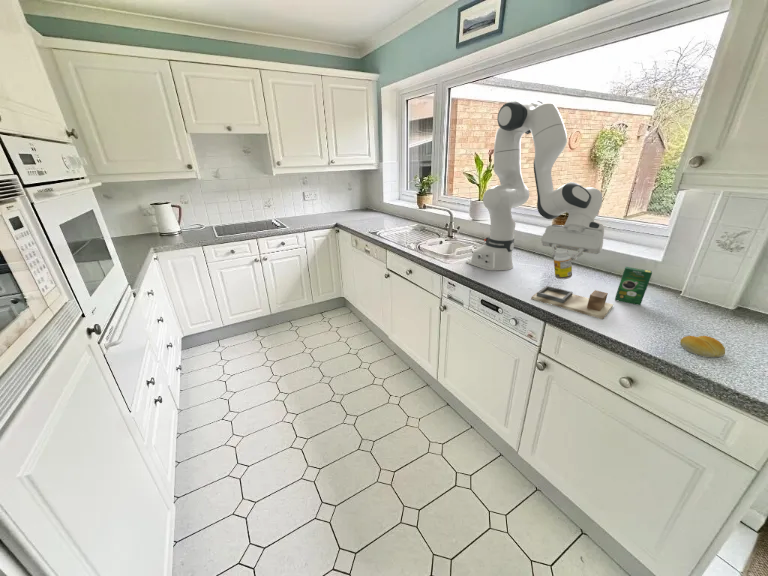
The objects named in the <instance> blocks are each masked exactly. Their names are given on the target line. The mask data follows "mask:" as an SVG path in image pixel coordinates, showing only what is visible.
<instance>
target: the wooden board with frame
mask: <svg viewBox="0 0 768 576" xmlns="http://www.w3.org/2000/svg"><path fill="white" fill-rule="evenodd" d="M608 295H609V294H608V292H604V291H601V290H597V289H594V291H593V292H592V293H590V295H589V297H586V296H581V295H578V294H574V293H573V291H570V290H566V289H561V288H558V287H554V286H550V285H545V286H544V287H542V288H541V289H540V290H538V291H537V292H536V293H534V294H533V295H531V300H533V299H534V301H537V302H540V301H541V303H545V304H547V303H548V305H551V304H552V305H551V306H555V307H559V308H561V307H562V308H561V309H565V310H567V311H573V312H575V313H579V314H583V315H585V316H590V317H593V318H597V319H601V320H604V318H605V317H606V316H607V315H608V314H609V312H610V311H611V310H612V308H613V307H614V304H613V303H610V302H606V301H607V297H608Z"/></svg>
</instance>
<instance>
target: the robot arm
mask: <svg viewBox="0 0 768 576" xmlns="http://www.w3.org/2000/svg"><path fill="white" fill-rule="evenodd" d="M497 125H498V128H497V129H496V132H495V138H494V143H493V144H494V145H493V172H494V174H495V175H496V176H497V177H498V180H499V182H500V184H499V185H494V186H492V187H490V188H488V189H487V190H485V192H484V193H483V197H482V203H483V205H484V207H485V208H486V209H487V211H488V214H489V217H490V227H489V236H487V237H486V238H484V240H483V242H485V243H484V244H483V245H481V246H480V247H477V248H476V249H474V251H473V252H472V254H471V255H472V256H471V257H469V258H468V259H467V260H466V263H467V264H468V265H472V266H474V267H478V268H480V269H483V270H485V271H508V270H511V269H513V268H514V265H513V250H514V247H515V246H514V245H515V230H516V221H515V219H514V218H513V216H512V209H514V208H518V207H520V206H522V205H524V204H525V203H527V201H528V200H529V197H530V190H529V188H528V187H527V186H526V184H525V182H524V179H523V175H522V168H521V154H522V153H521V151H522V150H521V141H522V138H523V135H524V134H527V135H530V134H531V137H532V140H533V145H534V160H533V171H534V179H535V180H534V181H535V186H536V192H537V193H536V196H537V200H536V207H537V211H538V213H539V215H540V216H541V217H542V218H545V219H547V220H555V219H556V218H558V217H559V216H561V215H563V214H565V213H567V214H568V216H567V219H566V221H565V223H564V225H562V224H561V225H560V224H551V225H550V224H549V225H548V226H547V227H546V229H545V231H544V233H543V234H542V236H541V238H540V243H541V244H542V246H544V247H549V248H550V247H551V249H552V252H551V254H550V255H551V257H552V258H554V257H555V256H556V251H557V250H558V249H560V250H568V251H574V252H577V253H574V254H571V261H573V262H576V261H578V258H579V257H581V256H582V255H583V254H584V253H587V254H593V255H598V254H600V253H601V251H602V249H603V247H604V246H603V245H604V235H605V228H604V225H603V224H601V223H598V222H596V221H595V219H596V218H597V216H598V214H599V212H600V209H601V207H602V204H603V193H602V192H601V190H600V189H598V188H595V187H584V186H582V185H581V184H579V183H577V182H575V181H574V182H572V181H569V182H567V183H565V184H564V185H561V186H560V187H558V188H557V189H554V184H553V178H552V170H553V167H554V164H555V162H556V161H557V160H558V158H559V156H560V155H561V154H562V153H563V151H564V150H565V148H566V146H567V143H568V135H567V130H566V126H565V123H564V121H563V117H562V115H561V113H560V111H559V109H558V107H557V106H556V104H555V103H553V102H550V101H549V102H542V101H539V100H531V99H530V100H529V99H527V100H526V99H525V100H511V101H508V102H506V103H503V105H502V106H501V107H500V108H499V110H498V113H497Z"/></svg>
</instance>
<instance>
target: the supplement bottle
mask: <svg viewBox="0 0 768 576" xmlns="http://www.w3.org/2000/svg"><path fill="white" fill-rule="evenodd" d="M555 251H556V256H555V257H553V267H554V276H555V279H558V280H568V279H570V278H572V277H573V269H572V267H573V266H572V260H571V257H572V255H571V254H569V250H567V249H557V250H555Z"/></svg>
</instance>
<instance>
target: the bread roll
mask: <svg viewBox="0 0 768 576" xmlns="http://www.w3.org/2000/svg"><path fill="white" fill-rule="evenodd" d="M679 343H680V345H681V348H682V347H683V348H682V349H684V350H685V349H686V350H685V351H687V352H689V353H691V352H692V354H693V355H696V354H697V356H699V355H700V357H703V356H704V358H721V357H724V356H725V355H726V348H725V347H724V345H723V343H722V342H721V341H719V340H718V339H716V338H714V337H711V336H707V335H699V336H694V335H686V336H684V337H682V338H680V342H679Z"/></svg>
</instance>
